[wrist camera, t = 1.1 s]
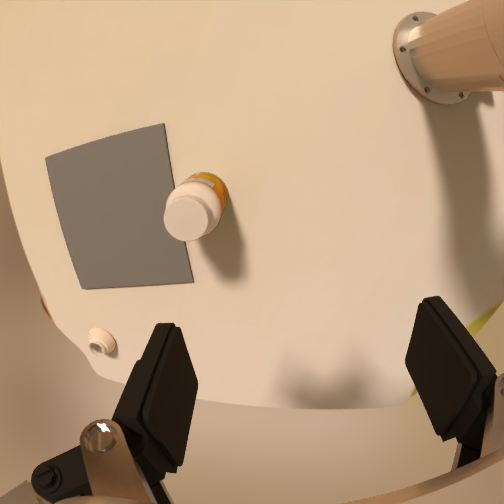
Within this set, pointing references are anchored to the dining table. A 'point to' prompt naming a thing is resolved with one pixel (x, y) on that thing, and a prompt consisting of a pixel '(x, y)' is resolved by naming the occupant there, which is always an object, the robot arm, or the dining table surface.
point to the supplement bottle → (195, 206)
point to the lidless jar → (100, 341)
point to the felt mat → (118, 210)
